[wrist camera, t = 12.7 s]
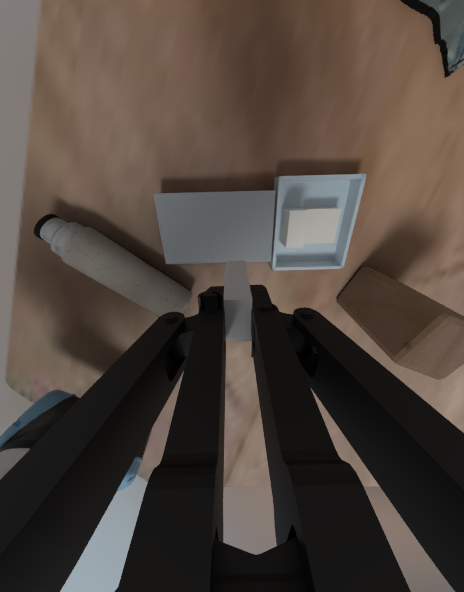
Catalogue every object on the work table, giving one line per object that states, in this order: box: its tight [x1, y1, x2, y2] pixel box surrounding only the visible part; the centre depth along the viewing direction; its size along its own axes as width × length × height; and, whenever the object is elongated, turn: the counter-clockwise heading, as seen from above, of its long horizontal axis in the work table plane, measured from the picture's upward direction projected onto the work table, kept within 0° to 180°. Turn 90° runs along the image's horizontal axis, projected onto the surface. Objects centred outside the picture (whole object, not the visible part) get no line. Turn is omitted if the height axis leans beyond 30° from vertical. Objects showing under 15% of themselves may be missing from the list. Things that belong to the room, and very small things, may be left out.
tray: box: [269, 174, 367, 271], centre depth 37 cm, size 14×16×4 cm
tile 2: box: [279, 207, 309, 248], centre depth 36 cm, size 6×6×3 cm
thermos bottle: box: [34, 214, 192, 317], centre depth 39 cm, size 8×8×28 cm
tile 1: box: [302, 207, 342, 244], centre depth 37 cm, size 6×6×3 cm
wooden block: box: [337, 266, 464, 379], centre depth 37 cm, size 10×10×20 cm
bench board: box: [153, 190, 276, 264], centre depth 37 cm, size 20×12×4 cm, turn 91°
